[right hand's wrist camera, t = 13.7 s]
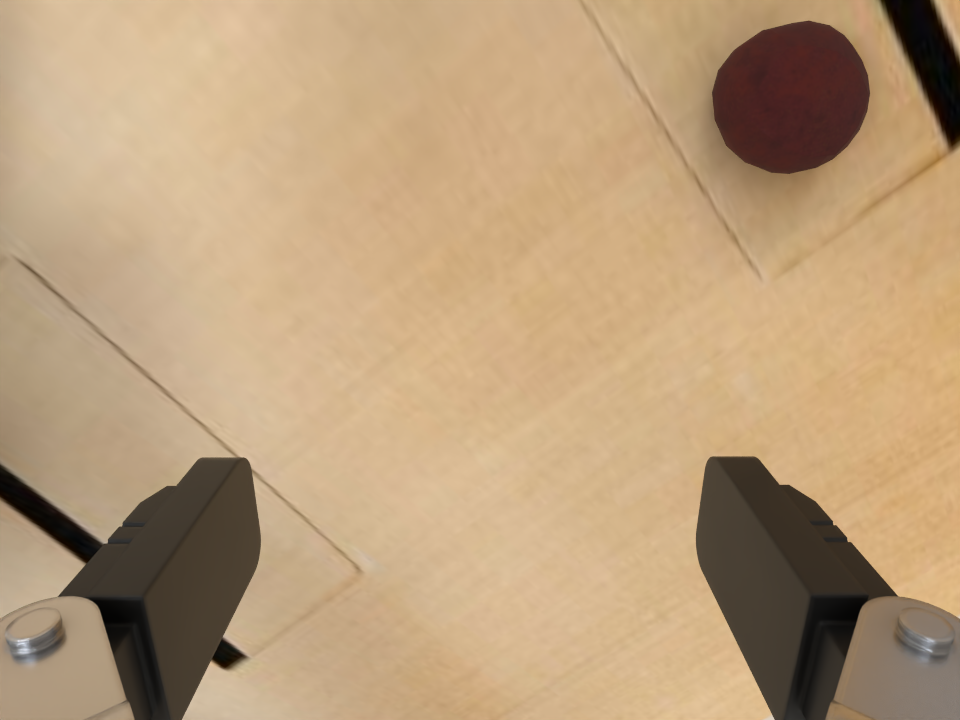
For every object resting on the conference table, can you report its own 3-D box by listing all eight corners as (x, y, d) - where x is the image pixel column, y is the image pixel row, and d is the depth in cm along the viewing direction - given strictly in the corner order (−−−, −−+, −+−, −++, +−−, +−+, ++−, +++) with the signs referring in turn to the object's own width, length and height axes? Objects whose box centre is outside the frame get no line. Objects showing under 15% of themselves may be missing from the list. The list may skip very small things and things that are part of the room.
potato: (783, 187, 39) (844, 201, 33) (671, 133, 38) (710, 137, 32) (854, 65, 37) (934, 54, 30) (736, 4, 36) (794, -21, 29)
